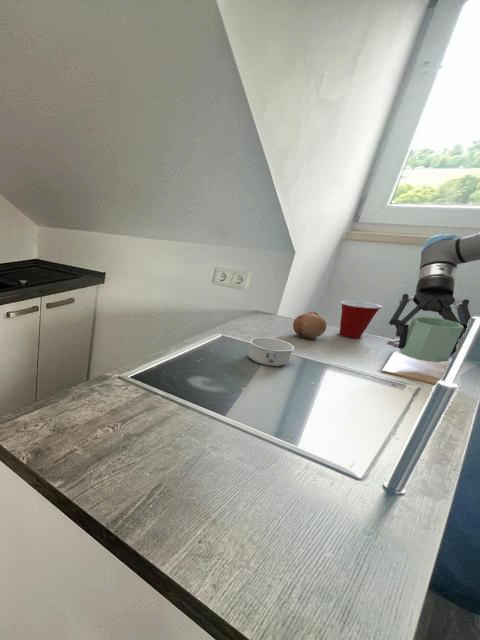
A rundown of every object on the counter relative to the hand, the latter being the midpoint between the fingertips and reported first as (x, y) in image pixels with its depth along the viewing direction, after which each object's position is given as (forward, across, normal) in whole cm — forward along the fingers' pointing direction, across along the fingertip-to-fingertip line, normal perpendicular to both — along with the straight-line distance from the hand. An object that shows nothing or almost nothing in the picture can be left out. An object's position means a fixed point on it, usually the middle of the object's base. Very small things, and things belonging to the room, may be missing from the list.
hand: (425, 349), depth 110 cm
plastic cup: (-14, -13, +24) cm, 30 cm away
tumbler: (+1, 0, -5) cm, 5 cm away
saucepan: (+18, -36, -8) cm, 41 cm away
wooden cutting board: (+3, 0, +6) cm, 7 cm away
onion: (-7, -26, +17) cm, 31 cm away
